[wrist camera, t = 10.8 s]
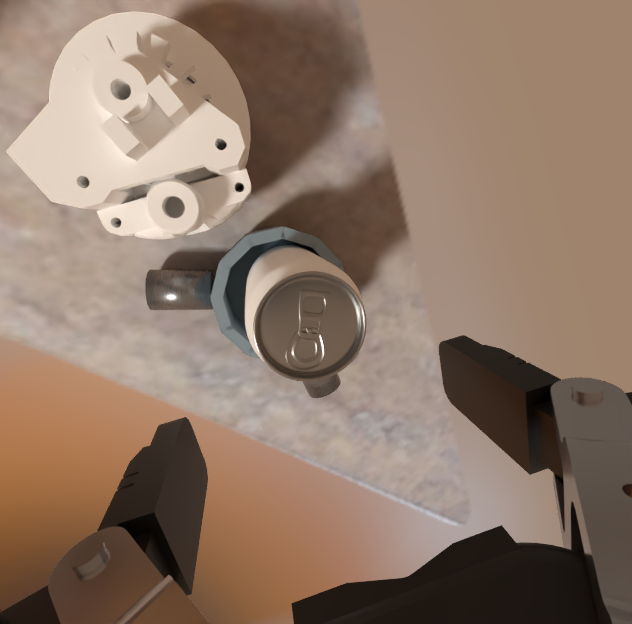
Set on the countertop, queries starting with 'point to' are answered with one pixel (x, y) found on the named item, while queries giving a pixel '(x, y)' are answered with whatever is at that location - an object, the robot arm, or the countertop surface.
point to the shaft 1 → (179, 289)
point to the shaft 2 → (322, 386)
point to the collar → (235, 272)
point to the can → (303, 314)
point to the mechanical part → (142, 129)
